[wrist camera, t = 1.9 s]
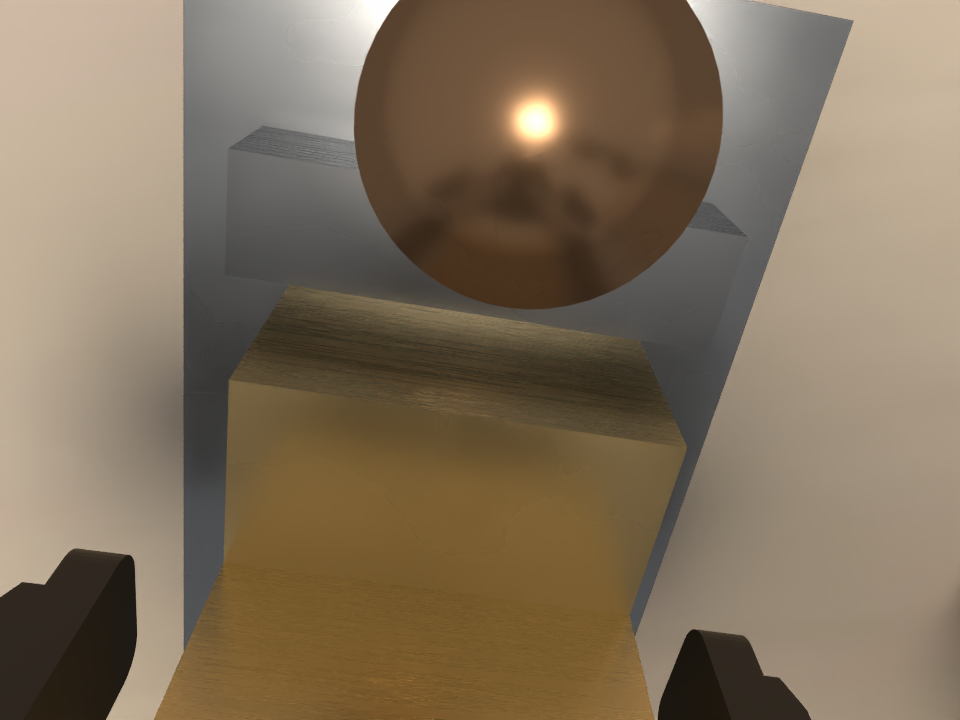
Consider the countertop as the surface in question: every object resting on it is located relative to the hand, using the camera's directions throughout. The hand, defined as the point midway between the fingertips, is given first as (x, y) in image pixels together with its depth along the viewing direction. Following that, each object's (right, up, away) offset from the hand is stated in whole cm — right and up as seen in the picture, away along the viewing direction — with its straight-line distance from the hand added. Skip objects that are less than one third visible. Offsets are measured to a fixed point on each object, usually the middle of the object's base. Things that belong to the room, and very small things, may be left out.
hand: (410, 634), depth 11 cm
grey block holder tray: (0, +3, +6) cm, 7 cm away
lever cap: (0, +1, +2) cm, 2 cm away
